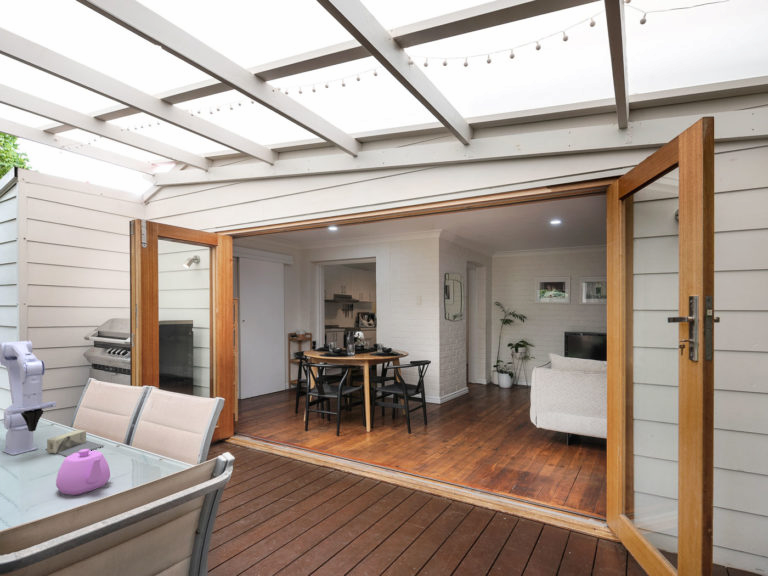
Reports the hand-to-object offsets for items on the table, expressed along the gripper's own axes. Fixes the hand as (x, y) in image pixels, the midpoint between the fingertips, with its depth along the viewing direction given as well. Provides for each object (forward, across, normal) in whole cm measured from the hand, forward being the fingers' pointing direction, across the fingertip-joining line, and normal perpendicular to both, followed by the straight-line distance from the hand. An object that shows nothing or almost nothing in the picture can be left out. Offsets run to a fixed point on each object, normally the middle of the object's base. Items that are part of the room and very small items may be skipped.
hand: (32, 430), depth 157 cm
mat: (+10, +14, -2) cm, 17 cm away
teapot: (+12, -5, -45) cm, 47 cm away
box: (+8, +6, -1) cm, 9 cm away
